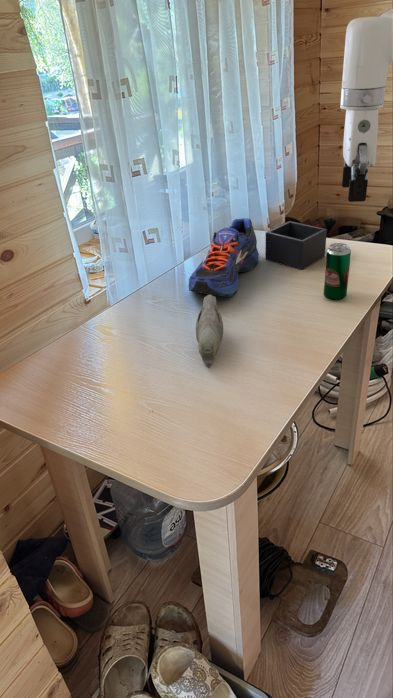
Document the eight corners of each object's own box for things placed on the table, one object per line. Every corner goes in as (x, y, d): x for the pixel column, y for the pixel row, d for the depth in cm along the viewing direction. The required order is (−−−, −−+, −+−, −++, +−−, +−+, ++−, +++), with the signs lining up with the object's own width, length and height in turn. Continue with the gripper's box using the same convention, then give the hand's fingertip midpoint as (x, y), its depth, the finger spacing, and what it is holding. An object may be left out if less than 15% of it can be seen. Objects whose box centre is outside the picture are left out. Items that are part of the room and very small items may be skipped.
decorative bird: (194, 369, 96) (191, 335, 92) (198, 326, 109) (196, 294, 105) (223, 368, 95) (221, 334, 91) (224, 325, 109) (222, 294, 105)
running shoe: (176, 306, 118) (171, 254, 111) (220, 253, 143) (218, 208, 136) (227, 312, 114) (225, 258, 107) (263, 256, 139) (263, 210, 132)
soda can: (318, 296, 117) (322, 246, 111) (333, 289, 120) (337, 240, 113) (336, 304, 114) (340, 252, 107) (351, 296, 116) (356, 246, 110)
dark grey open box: (325, 256, 136) (327, 229, 132) (301, 270, 130) (303, 241, 126) (288, 247, 143) (289, 220, 139) (265, 259, 137) (265, 232, 133)
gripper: (394, 104, 85) (380, 206, 94) (375, 91, 99) (365, 181, 108) (347, 106, 86) (338, 207, 95) (335, 93, 100) (329, 182, 109)
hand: (353, 193), depth 102 cm, fingers open, 9 cm apart
